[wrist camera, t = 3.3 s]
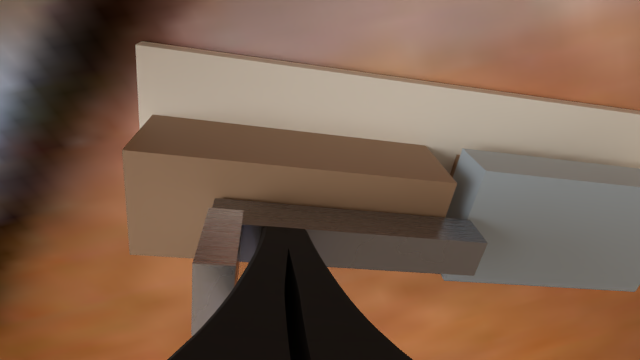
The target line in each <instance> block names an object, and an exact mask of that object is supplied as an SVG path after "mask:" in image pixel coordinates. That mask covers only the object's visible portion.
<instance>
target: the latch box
mask: <svg viewBox="0 0 640 360" xmlns="http://www.w3.org/2000/svg"><path fill="white" fill-rule="evenodd" d="M135 47H136V67H137V87H138V106H139V126H140V130H139V131H138V132H137V133H136V134H135V136H134V137H133V138H132V139H131V140H130V141H129V143H128V144H127V145H126V146H125V147H124V148H123V150H122V156H123V170H124V183H125V197H126V210H127V224H128V237H129V251H130V255H146V256H162V257H178V258H194V257H195V253H196V250H197V246H198V243H199V239H200V236H201V233H202V229H203V226H204V222H205V219H206V215H207V212H208V208H212V206H213V203H214V199H215V198H220V199H231V200H243V201H255V202H267V203H279V204H290V205H302V206H314V207H326V208H337V209H349V210H361V211H373V212H384V213H396V214H408V215H420V216H432V217H443V218H445V217H446V214H447V211H448V208H449V206H450V203H451V200H452V197H453V194H454V191H455V189H456V186H457V182H456V181H455V180H454V179H453V175H454V172H455V169H456V166H457V164H458V161H459V158H460V155H461V152H462V149H463V148H464V149H473V150H481V151H490V152H499V153H508V154H516V155H525V156H534V157H543V158H551V159H560V160H569V161H578V162H586V163H595V164H604V165H613V166H621V167H630V168H639V169H640V111H637V110H630V109H623V108H616V107H609V106H602V105H595V104H587V103H580V102H573V101H566V100H559V99H552V98H545V97H537V96H530V95H523V94H516V93H509V92H502V91H495V90H488V89H480V88H473V87H466V86H459V85H452V84H445V83H438V82H431V81H423V80H416V79H409V78H402V77H395V76H388V75H381V74H373V73H366V72H359V71H352V70H345V69H338V68H331V67H324V66H316V65H309V64H302V63H295V62H288V61H281V60H274V59H267V58H259V57H252V56H245V55H238V54H231V53H224V52H217V51H210V50H202V49H195V48H188V47H181V46H174V45H167V44H160V43H152V42H145V41H141V42H139V43H138V44H136V45H135Z"/></svg>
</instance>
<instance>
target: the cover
mask: <svg viewBox="0 0 640 360" xmlns="http://www.w3.org/2000/svg"><path fill="white" fill-rule="evenodd" d="M453 179H454V180H455V181H456V182H457V186H456V189H455V191H454V194H453V197H452V200H451V203H450V206H449V208H448V211H447V214H446V217H445V218H455V219H467V220H471V222H472V223H473V224H474V226H475V227H476V228H477V230H478V231H479V232H480V233H481V235H482V236H483V237H484V239H485V240H486V241H487V243H488V244H487V247H486V249H485V251H484V254H483V256H482V258H481V261H480V263H479V266H478V268H477V270H476V273H475V275H474V276H467V275H451V274H441V276H442V277H443V279H444V280H445V281H461V282H478V283H495V284H512V285H529V286H546V287H563V288H580V289H597V290H614V291H631V292H635V291H636V290H637V288H638V287H639V285H640V169H639V168H630V167H621V166H613V165H604V164H595V163H586V162H578V161H569V160H560V159H551V158H543V157H534V156H525V155H516V154H508V153H499V152H490V151H481V150H473V149H464V148H463V149H462V152H461V155H460V158H459V161H458V164H457V166H456V169H455V172H454V175H453Z"/></svg>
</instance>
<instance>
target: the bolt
mask: <svg viewBox="0 0 640 360" xmlns="http://www.w3.org/2000/svg"><path fill="white" fill-rule="evenodd" d="M266 226H274V227H286V228H299V229H305V230H306V231H307V232H308V234H309V237H310V239H311V241H312V242H313V244H314V246H315V248H316V250H317V252H318V253H319V255H320V257H321V258H322V260H323V262H324V263H325V265H326V266H327V267H337V268H354V269H370V270H386V271H402V272H419V273H435V274H451V275H467V276H474V275H475V273H476V270H477V268H478V266H479V263H480V261H481V258H482V256H483V254H484V251H485V249H486V247H487V244H488V243H487V241H486V240H485V239H484V237H483V236H482V235H481V233H480V232H479V231H478V230H477V228H476V227H475V226H474V224H473V223H472V222H471V220H467V219H455V218H443V217H432V216H420V215H408V214H396V213H384V212H373V211H361V210H349V209H337V208H326V207H314V206H302V205H290V204H279V203H267V202H255V201H243V200H231V199H220V198H215V199H214V203H213V206H212V208H208V212H207V215H206V219H205V222H204V226H203V229H202V233H201V236H200V239H199V243H198V246H197V250H196V253H195V257H194V260H193V269H192V336H193V335H194V334H195V333H196V332H197V331H198V330H199V329H200V328H201V327H202V326H203V325H204V324H205V323H206V322H207V320H208V319H209V318H210V317H211V316H212V315H213V314H214V313H215V311H216V310H217V309H218V308H219V307H220V305H221V304H222V303H223V302H224V300H225V299H226V298H227V296H228V295H229V294H230V292H231V291H232V289H233V288H234V287H235V285H236V283H237V282H238V274H239V261H240V262H250V260H251V258H252V256H253V255H254V253H255V250H256V248H257V246H258V244H259V241H260V238H261V235H262V229H263V228H264V227H266Z"/></svg>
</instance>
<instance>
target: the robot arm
mask: <svg viewBox="0 0 640 360" xmlns="http://www.w3.org/2000/svg"><path fill="white" fill-rule="evenodd" d="M168 360H413V359H411V358H410V357H409V356H407V355H406V354H405V353H404V352H402V351H401V350H400V349H399V348H398V347H396V346H395V345H394V344H393V343H392V342H391V341H390V340H389V339H388V338H386V337H385V336H384V335H383V334H382V333H381V332H380V331H379V330H378V329H377V328H376V327H375V326H374V325H373V324H372V323H371V322H370V321H369V320H368V319H367V318H366V317H365V316H364V315H363V314H362V313H361V312H360V311H359V309H358V308H357V307H356V306H355V305H354V304H353V302H352V301H351V300H350V299H349V297H348V296H347V295H346V294H345V292H344V291H343V290H342V288H341V287H340V286H339V284H338V283H337V281H336V280H335V279H334V277H333V276H332V274H331V273H330V271H329V269H328V268H327V266H326V265H325V263H324V262H323V260H322V258H321V257H320V255H319V253H318V252H317V250H316V248H315V246H314V244H313V242H312V241H311V239H310V237H309V234H308V232H307V231H306V230H305V229H299V228H286V227H274V226H266V227H264V228H263V229H262V235H261V238H260V241H259V244H258V246H257V248H256V250H255V253H254V255H253V256H252V258H251V260H250V262H249V264H248V266H247V268H246V269H245V271H244V273H243V274H242V276H241V277H240V279H239V280H238V282H237V283H236V285H235V287H234V288H233V289H232V291H231V292H230V294H229V295H228V296H227V298H226V299H225V300H224V302H223V303H222V304H221V305H220V307H219V308H218V309H217V310H216V311H215V313H214V314H213V315H212V316H211V317H210V318H209V319H208V320H207V322H206V323H205V324H204V325H203V326H202V327H201V328H200V329H199V330H198V331H197V332H196V333H195V334H194V335H193V336H192V337H191V338H190V339H189V340H188V341H187V342H186V343H185V344H184V345H183V346H182V347H181V348H180V349H178V350H177V351H176V352H175V353H174V354H173V355H172V356H171V357H170V358H169V359H168Z"/></svg>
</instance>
